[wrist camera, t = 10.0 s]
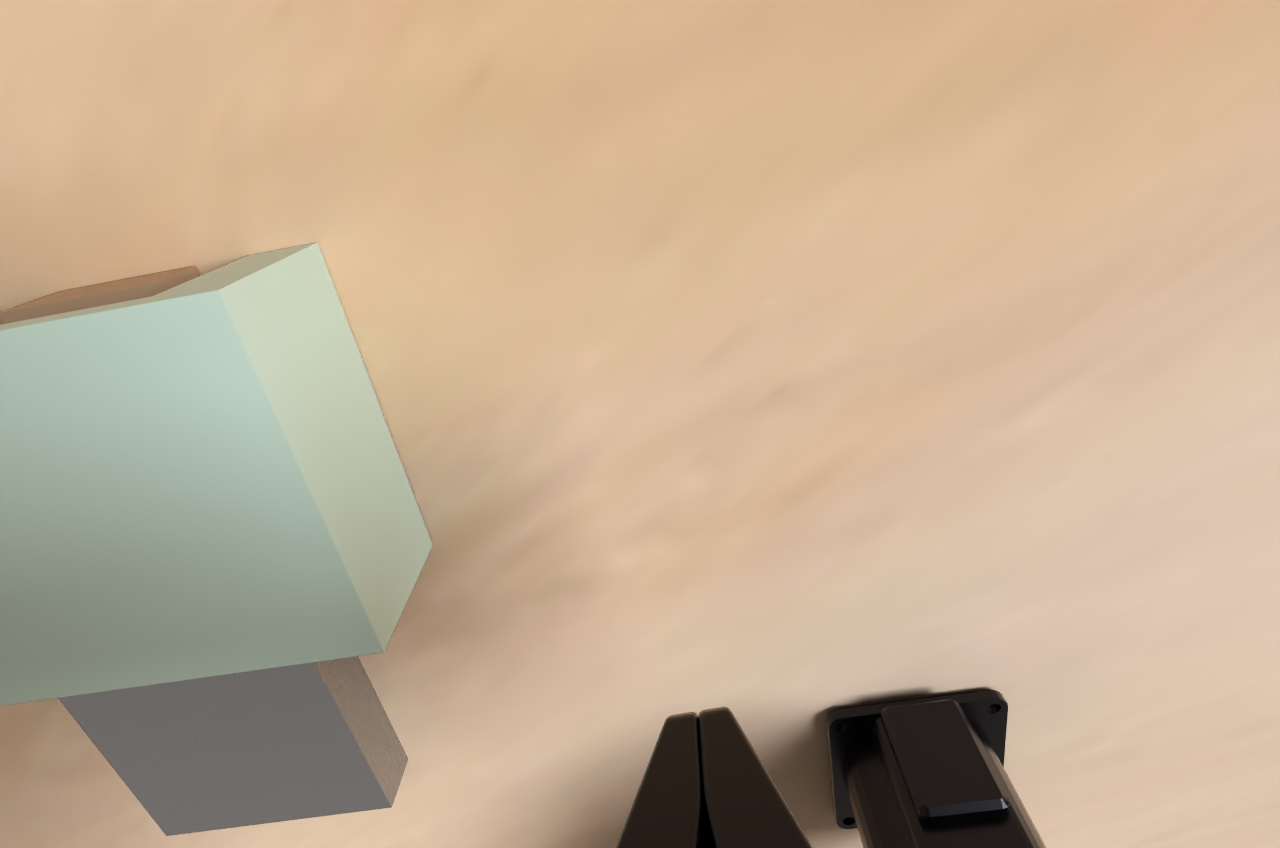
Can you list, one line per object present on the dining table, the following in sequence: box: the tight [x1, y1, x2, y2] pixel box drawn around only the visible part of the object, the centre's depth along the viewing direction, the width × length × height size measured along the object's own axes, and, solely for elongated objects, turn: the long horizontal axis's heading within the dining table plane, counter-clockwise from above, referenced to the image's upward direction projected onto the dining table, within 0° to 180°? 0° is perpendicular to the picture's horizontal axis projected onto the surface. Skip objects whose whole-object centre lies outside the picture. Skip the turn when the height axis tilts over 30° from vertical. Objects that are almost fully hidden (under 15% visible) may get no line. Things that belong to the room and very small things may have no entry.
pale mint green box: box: [0, 242, 433, 706], centre depth 19 cm, size 10×17×5 cm, turn 100°
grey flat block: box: [59, 656, 408, 836], centre depth 23 cm, size 18×9×2 cm, turn 11°
